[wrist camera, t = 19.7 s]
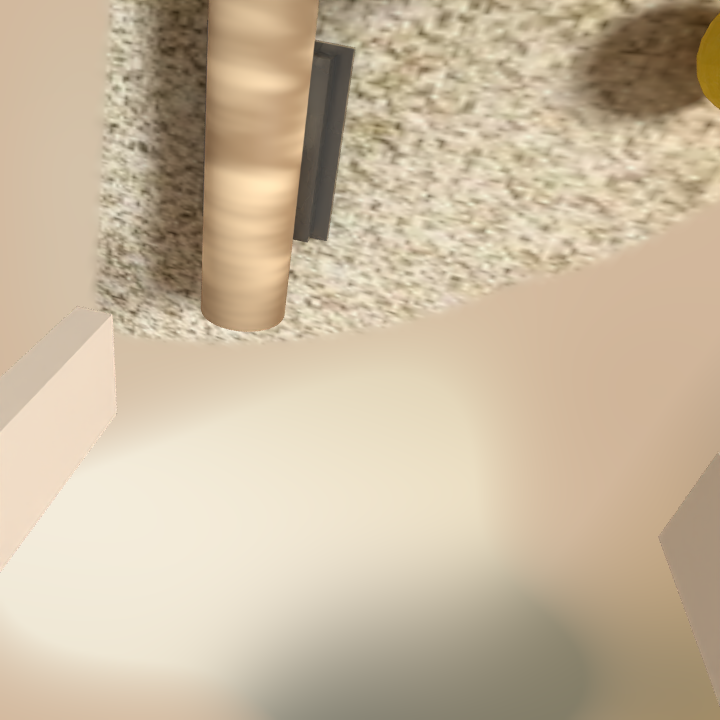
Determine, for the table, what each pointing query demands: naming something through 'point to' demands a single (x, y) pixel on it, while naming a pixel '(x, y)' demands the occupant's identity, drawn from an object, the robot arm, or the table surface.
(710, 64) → the fruit
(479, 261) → the table surface
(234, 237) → the axle
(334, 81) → the cradle
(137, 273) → the table surface
